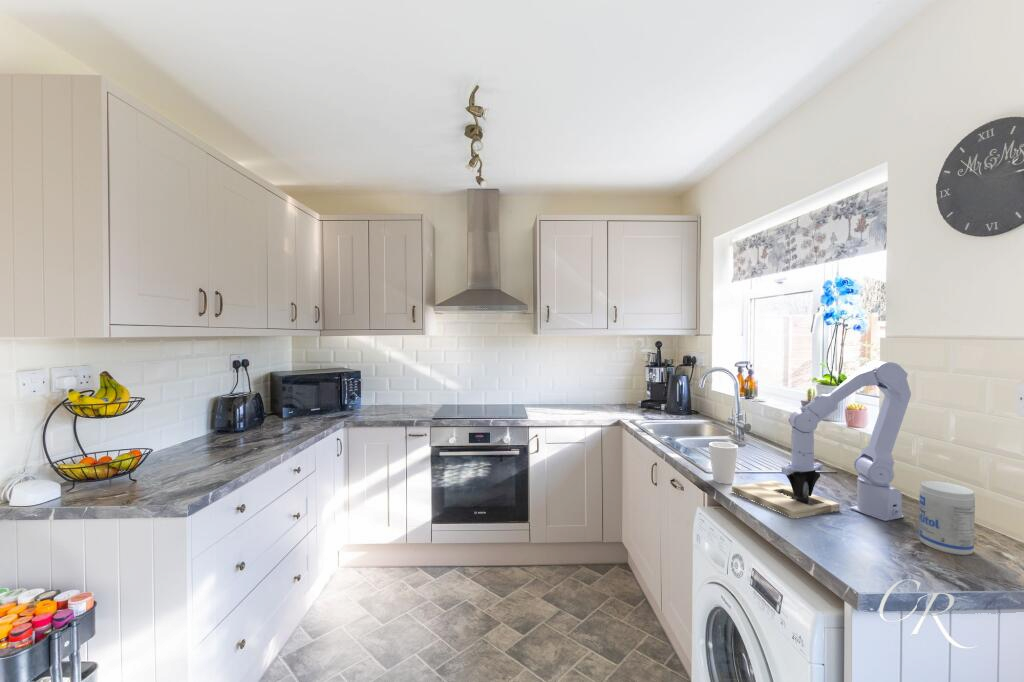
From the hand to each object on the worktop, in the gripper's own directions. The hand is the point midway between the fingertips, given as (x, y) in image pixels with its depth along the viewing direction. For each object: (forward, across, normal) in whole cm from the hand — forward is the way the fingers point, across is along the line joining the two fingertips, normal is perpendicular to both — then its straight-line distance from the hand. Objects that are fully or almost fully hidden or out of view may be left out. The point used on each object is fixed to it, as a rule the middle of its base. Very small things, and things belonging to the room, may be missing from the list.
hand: (802, 495), depth 132 cm
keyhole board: (+3, +2, -5) cm, 6 cm away
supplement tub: (+3, -8, +30) cm, 32 cm away
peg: (+3, 0, 0) cm, 3 cm away
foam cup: (+3, +5, -26) cm, 26 cm away
